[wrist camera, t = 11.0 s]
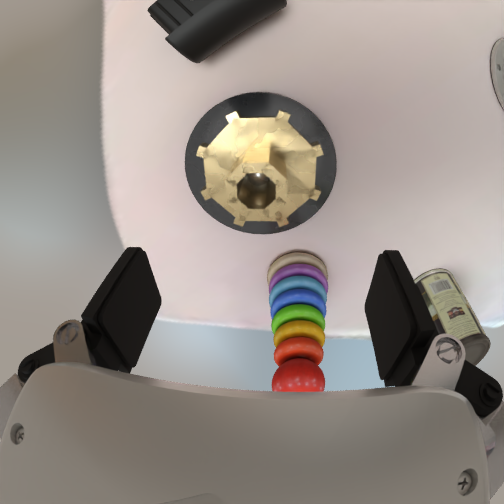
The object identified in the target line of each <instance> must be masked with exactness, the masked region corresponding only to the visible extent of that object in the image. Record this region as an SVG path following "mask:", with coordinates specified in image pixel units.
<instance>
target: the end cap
mask: <svg viewBox="0 0 504 504" xmlns="http://www.w3.org/2000/svg"><path fill="white" fill-rule="evenodd" d="M286 5H287V1H286V0H157V1H156V2H155V3H154V4H152V5H151V6H150V7H149V8H148V12H149V13H150V16H151V17H152V18H153V19H154V20H155V21H156V22H157V23H158V24H159V25H160V26H161V27H162V28H163V29H164V30H165V31H166V32H167V33H168V34H169V35H168V36H167V37H166V38H165V40H166V41H167V42H168V43H169V44H171V45H172V46H173V47H174V48H175V49H176V50H177V51H178V52H180V53H181V54H182V55H183V56H185V57H186V58H187V59H189V60H190V61H192V62H195V63H200V62H201V61H203V60H204V59H205V58H207V57H208V56H209V55H210V54H212V53H213V52H214V51H216V50H217V49H219V48H220V47H221V46H223V45H224V44H226V43H227V42H228V41H230V40H231V39H233V38H234V37H236V36H237V35H239V34H240V33H242V32H243V31H245V30H246V29H248V28H249V27H251V26H253V25H254V24H256V23H258V22H259V21H261V20H263V19H264V18H266V17H268V16H269V15H271V14H273V13H275V12H277V11H278V10H280V9H282V8H284V7H286Z"/></svg>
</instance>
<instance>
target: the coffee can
mask: <svg viewBox="0 0 504 504" xmlns="http://www.w3.org/2000/svg"><path fill="white" fill-rule="evenodd" d="M414 282H415V284H417V286H418V288H419V290H420V292H421V294H422V296H423V298H424V300H425V303H426V305H427V307H428V309H429V312H430V314H431V316H432V319H433V321H434V323H435V326H436V328H437V331H438V333H439V335H440V334H450V335H453V336H455V337H456V338H458V339H459V340H460V341H461V343H462V344H463V346H464V348H465V353H466V355H465V360H467V361H468V362H470V363H471V364H473V365H474V366H476V365H477V364H478V363H479V362H480V361H481V360H482V359H483V358H484V356H485V355H486V354H487V352H488V350H489V348H490V340H489V338H488V337H487V336H486V335H485V333H484V330H483V329H482V326H481V325H480V323H479V321H478V319H477V317H476V315H475V313H474V311H473V310H472V308H471V306H470V304H469V302H468V301H467V299H466V297H465V296H464V294H463V292H462V291H461V289H460V287H459V286H458V284H457V283H456V281H455V279H454V277H453V275H452V274H451V273H450V272H449V271H447V270H445V269H435V270H431V271H428V272H426V273H424V274H422V275H421V276H419V277H418V278H417V279H415V280H414Z"/></svg>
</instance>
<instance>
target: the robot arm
mask: <svg viewBox="0 0 504 504" xmlns="http://www.w3.org/2000/svg"><path fill="white" fill-rule="evenodd" d="M491 73H492V79H493V84H494V88H495V91H496V94H497V97H498V99H499V102H500V104H501V105H502V107H503V109H504V38H502V39H500V40H498V41H497V42H496V44H495V45H494V47H493V50H492V55H491ZM160 306H161V296H160V293H159V290H158V287H157V284H156V282H155V279H154V276H153V273H152V270H151V267H150V264H149V260H148V257H147V254H146V252H145V251H143V250H142V248H140V247H128V248H127V249H126V250H125V251H124V253H123V254H122V255H121V257H120V258H119V259H118V261H117V262H116V264H115V265H114V266H113V268H112V269H111V271H110V272H109V274H108V275H107V276H106V278H105V279H104V281H103V282H102V284H101V285H100V287H99V288H98V290H97V291H96V293H95V295H94V296H93V297H92V299H91V301H90V302H89V304H88V306H87V307H86V309H85V310H84V312H83V313H82V315H81V317H82V319H83V320H82V321H81V323H80V322H79V321H77V320H68V321H65V322H64V323H62V324H61V325H60V326H59V327H58V328H57V329H56V331H55V333H54V335H53V343H51V344H49V345H47V346H45V347H44V348H42V349H40V350H38V351H36V352H34V353H32V354H30V355H28V356H27V357H25V358H24V359H23V361H22V362H21V363H20V365H19V369H18V375H17V374H14V375H13V376H12V377H11V378H10V379H8V381H7V382H5V383H4V384H3V385H2V386H1V387H0V438H1V442H0V504H490V499H491V498H492V497H493V495H494V494H495V493H496V492H497V490H498V489H499V488H500V486H501V485H502V483H503V482H504V402H503V401H502V398H503V394H502V389H501V386H500V384H499V383H498V382H497V381H496V380H495V379H494V378H493V377H491V376H489V375H488V374H486V373H485V372H483V371H482V370H480V369H479V368H477V367H476V366H474V365H473V364H471V363H470V362H468V361H467V360H465V355H466V353H465V348H464V346H463V344H462V343H461V341H460V340H459V339H458V338H456V337H455V336H453V335H450V334H440V335H439V333H438V331H437V328H436V326H435V323H434V321H433V319H432V316H431V314H430V312H429V309H428V307H427V305H426V303H425V300H424V298H423V296H422V294H421V292H420V290H419V288H418V286H417V284H415V282H414V280H413V278H412V276H411V274H410V272H409V270H408V268H407V266H406V264H405V262H404V260H403V258H402V256H401V254H400V252H399V251H397V250H385V251H384V252H383V254H379V256H378V260H377V264H376V267H375V271H374V275H373V278H372V282H371V285H370V289H369V292H368V295H367V299H366V302H365V313H366V317H367V321H368V325H369V329H370V334H371V338H372V342H373V346H374V351H375V356H376V361H377V366H378V371H379V376H380V379H381V380H384V383H385V388H375V389H363V390H345V391H327V392H326V391H324V392H276V391H253V390H252V391H251V390H238V389H226V388H215V387H206V386H198V385H191V384H184V383H177V382H171V381H165V380H159V379H154V378H148V377H143V376H138V375H133V374H130V372H131V369H132V367H135V366H136V364H137V361H138V359H139V356H140V354H141V351H142V349H143V346H144V344H145V341H146V339H147V337H148V334H149V332H150V330H151V327H152V325H153V322H154V320H155V318H156V315H157V313H158V311H159V309H160ZM118 370H119V371H118ZM389 386H395V387H389Z"/></svg>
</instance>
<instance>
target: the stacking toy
mask: <svg viewBox="0 0 504 504" xmlns="http://www.w3.org/2000/svg"><path fill="white" fill-rule="evenodd" d="M327 279H328V274H327V270H326V267H325V265H324V264H323V263H322V262H321V261H320V260H319V259H318V258H317V257H315V256H313V255H310V254H307V253H299V252H298V253H290V254H286V255H284V256H282V257H280V258H278V259H277V260H276V261H275V262H274V263H273V264H272V265H271V267H270V268H269V271H268V274H267V281H268V285H269V294H270V295H269V304H270V307H271V317H272V324H271V327H272V331H273V333H274V345H275V347H276V349H275V352H274V360H275V362H276V364H277V365H278V366H279V368H278V369H277V370H276V372H275V374H274V376H273V379H272V391H276V392H323V391H324V388H325V378H324V374H323V372H322V370H321V369H320V368H319V366H318V365H319V364H320V363H321V361H322V359H323V349H322V347H323V345H324V342H325V334H324V332H323V331H324V329H325V320H324V318H325V315H326V305H325V304H326V301H327V292H328V282H327Z"/></svg>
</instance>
